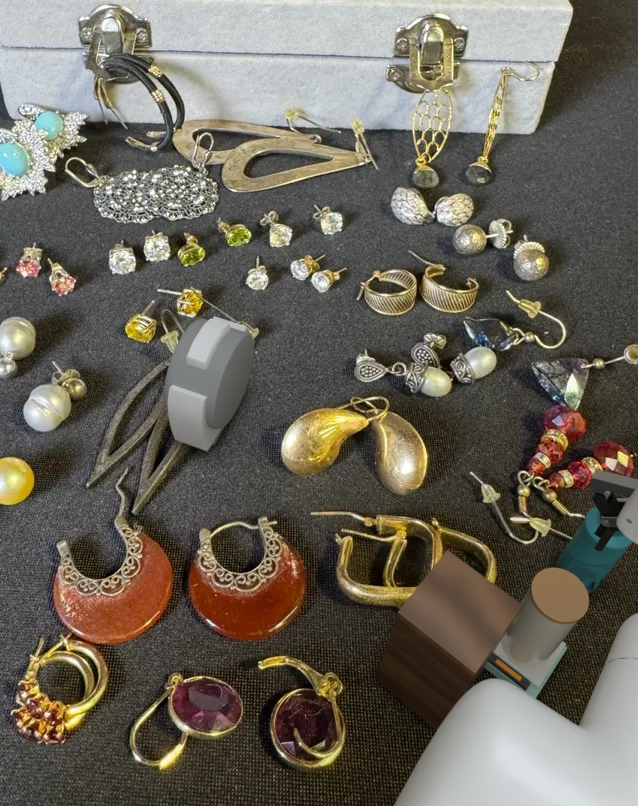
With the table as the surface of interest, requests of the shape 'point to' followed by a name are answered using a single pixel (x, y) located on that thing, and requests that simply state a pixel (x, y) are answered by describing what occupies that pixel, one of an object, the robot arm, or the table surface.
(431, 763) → the robot arm
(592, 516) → the beverage bottle
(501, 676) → the scale
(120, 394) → the table surface
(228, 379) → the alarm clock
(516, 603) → the wooden block
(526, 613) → the canister
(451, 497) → the table surface
